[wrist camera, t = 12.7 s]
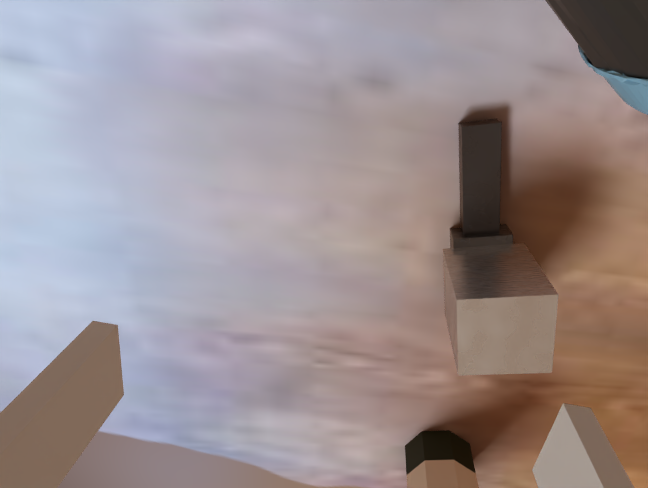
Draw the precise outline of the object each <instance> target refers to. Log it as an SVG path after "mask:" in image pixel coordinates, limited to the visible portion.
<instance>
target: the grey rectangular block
mask: <svg viewBox="0 0 648 488" xmlns="http://www.w3.org/2000/svg"><path fill="white" fill-rule="evenodd" d="M443 272H444V303H445V317H446V322H447V326H448V331H449V336H450V340H451V345H452V349H453V354H454V359H455V363H456V368H457V372H458V375H491V374H528V373H552V366H553V354H554V342H555V330H556V318H557V306H558V293H557V292H556V290H555V289H554V287H553V286H552V284H551V283H550V281H549V280H548V278H547V277H546V275H545V274H544V272H543V271H542V269H541V268H540V266H539V265H538V263H537V261H536V260H535V258H534V257H533V255H532V254H531V252H530V251H529V249H528V248H527V246H526V245H525V243H519V244H505V245H491V246H476V247H462V248H448V249H443Z"/></svg>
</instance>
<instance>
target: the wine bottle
mask: <svg viewBox="0 0 648 488" xmlns="http://www.w3.org/2000/svg"><path fill="white" fill-rule="evenodd" d="M405 452H406V472H407V488H479V487H478V482H477V478H476V473H475V468H474V463H473V458H472V454H471V449H470V444H469V443H468V442H466V441H465V440H463V439H461V438H460V437H458V436H457V435H455V434H454V433H452V432H450V431H426V432H421V433H420V434H419V435H417V436H416V437H415V438H414V439H413V440H412V441H410V442H409V443H408V444H407V445H406V446H405Z"/></svg>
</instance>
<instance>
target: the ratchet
mask: <svg viewBox="0 0 648 488" xmlns="http://www.w3.org/2000/svg"><path fill="white" fill-rule="evenodd" d="M501 123H502V122H500V121H499V120H498V119H490V120H481V121H472V122H463V123H459V172H460V228H453V229H450V248H462V247H476V246H491V245H505V244H513V234H512V233H511V231H510V230H509V228H508V226H507V225H506V224H504V225H500V176H501Z"/></svg>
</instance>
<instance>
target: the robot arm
mask: <svg viewBox="0 0 648 488" xmlns="http://www.w3.org/2000/svg"><path fill="white" fill-rule="evenodd" d="M546 2H547V3H548V4H549V6H550V7H551V8H552V10H553V11H554V12H555V14H556V15H557V16H558V18H559V19H560V20H561V22H562V23H563V25H564V26H565V27H566V29H567V30H568V31H569V33H570V34H571V35H572V37H573V38H574V39H575V41H576V42H577V43H578V48H579V52H580V54H581V57H582V58H583V60H584V61H585V63H586V64H587V65H588V66H589V67H592V68H593V70H594V71H595V72H596V73H598V74H599V75H601V76H603V77H604V78H605V79H606V81H607V82H608V83H609V84H610V85H611V87H612V88H613V89H614V90H615V91H616V93H617V94H618V95H619V96H620V97H621V98H622V99H623V101H624V102H626V103H627V104H628V105H630V106H631V107H633V108H635V109H636V110H638V111H640V112H642V113H644V114H647V115H648V0H546ZM123 395H124V391H123V380H122V369H121V357H120V346H119V335H118V325H114V324H108V323H103V322H97V321H92V322H91V323H90V324H89V325H88V326H87V327H86V328H85V329H84V330H83V331H82V332H81V333H80V334H79V335H78V336H77V337H76V338H75V339H74V340H73V341H72V342H71V343H70V344H69V345H68V346H67V347H66V348H65V349H64V350H63V351H62V352H61V353H60V354H59V355H58V356H57V357H56V358H55V359H54V360H53V361H52V362H51V363H50V364H49V365H48V366H47V367H46V368H45V369H44V370H43V371H42V372H41V373H40V374H39V375H38V376H37V377H36V378H35V379H34V380H33V381H32V382H31V383H30V384H29V385H28V386H27V387H26V388H25V389H24V390H23V391H22V392H21V393H20V394H19V395H18V396H17V397H16V398H15V399H14V400H13V401H12V402H11V403H10V404H9V405H8V406H7V407H6V408H5V409H4V410H3V411H2V412H1V413H0V488H57V487H58V486H59V485H60V483H61V482H62V480H63V479H64V477H65V476H66V475H67V473H68V472H69V470H70V469H71V468H72V466H73V465H74V463H75V462H76V461H77V459H78V458H79V456H80V455H81V454H82V452H83V451H84V449H85V448H86V447H87V445H88V444H89V443H90V441H91V440H92V438H93V437H94V436H95V434H96V433H97V431H98V430H99V429H100V427H101V426H102V424H103V423H104V422H105V420H106V419H107V417H108V416H109V415H110V413H111V412H112V410H113V409H114V408H115V406H116V405H117V404H118V402H119V401H120V399H121V398H122V397H123ZM533 473H534V476H535V479H536V482H537V485H538V488H634V486H633V485H632V483H631V481H630V479H629V477H628V475H627V474H626V472H625V470H624V468H623V466H622V465H621V463H620V461H619V459H618V457H617V455H616V454H615V452H614V450H613V448H612V446H611V444H610V443H609V441H608V439H607V437H606V435H605V433H604V432H603V430H602V428H601V426H600V424H599V423H598V421H597V419H596V417H595V415H594V413H593V412H592V410H591V408H588V407H582V406H576V405H571V404H565V403H563V404H562V406H561V409H560V411H559V413H558V415H557V417H556V420H555V422H554V424H553V426H552V428H551V430H550V433H549V435H548V437H547V439H546V441H545V444H544V446H543V448H542V450H541V452H540V454H539V457H538V459H537V461H536V463H535V465H534V468H533Z"/></svg>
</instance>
